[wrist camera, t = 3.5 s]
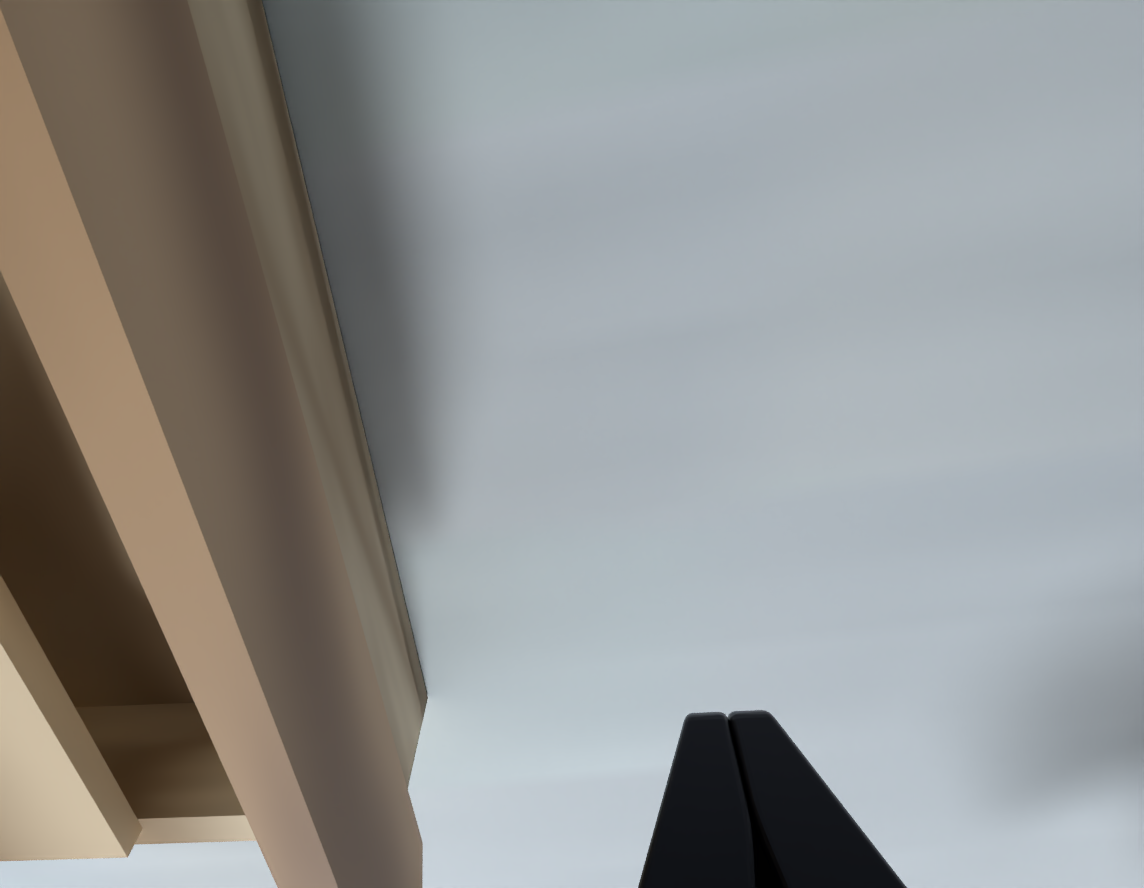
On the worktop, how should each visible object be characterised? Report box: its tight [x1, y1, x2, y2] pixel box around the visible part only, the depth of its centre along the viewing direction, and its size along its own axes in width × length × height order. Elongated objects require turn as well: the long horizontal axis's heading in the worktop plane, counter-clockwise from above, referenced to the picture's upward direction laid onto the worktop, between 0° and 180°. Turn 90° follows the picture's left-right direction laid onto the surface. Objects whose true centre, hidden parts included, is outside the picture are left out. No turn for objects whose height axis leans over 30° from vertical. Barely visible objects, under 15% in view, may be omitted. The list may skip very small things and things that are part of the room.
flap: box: [0, 0, 422, 888], centre depth 10 cm, size 4×14×1 cm
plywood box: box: [0, 0, 428, 861], centre depth 13 cm, size 10×15×4 cm, turn 4°
